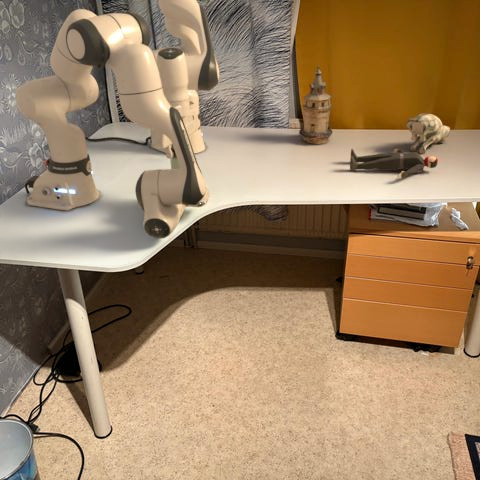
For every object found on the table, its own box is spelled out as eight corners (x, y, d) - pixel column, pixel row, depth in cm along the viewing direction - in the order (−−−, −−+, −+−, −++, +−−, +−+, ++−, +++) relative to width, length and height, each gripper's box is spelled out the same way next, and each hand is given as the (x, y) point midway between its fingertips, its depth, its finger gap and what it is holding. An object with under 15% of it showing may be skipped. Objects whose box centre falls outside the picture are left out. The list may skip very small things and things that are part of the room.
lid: (177, 158, 159) (176, 150, 158) (164, 154, 162) (163, 146, 161) (191, 153, 163) (191, 145, 161) (178, 148, 166) (178, 141, 165)
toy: (351, 141, 203) (434, 141, 197) (350, 156, 206) (432, 157, 200) (349, 166, 181) (443, 167, 175) (349, 183, 184) (441, 185, 178)
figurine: (436, 165, 204) (461, 137, 213) (424, 121, 195) (451, 94, 204) (414, 164, 211) (439, 137, 220) (401, 122, 202) (428, 96, 211)
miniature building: (320, 132, 228) (325, 59, 214) (338, 142, 217) (344, 66, 203) (293, 137, 224) (296, 63, 209) (310, 147, 213) (314, 69, 198)
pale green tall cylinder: (191, 203, 169) (187, 149, 161) (177, 206, 168) (172, 152, 159) (185, 198, 173) (182, 144, 164) (171, 201, 171) (167, 147, 163)
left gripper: (205, 195, 154) (213, 176, 166) (136, 192, 156) (148, 174, 168) (206, 214, 157) (213, 195, 169) (138, 211, 159) (150, 192, 171)
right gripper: (185, 98, 165) (187, 141, 172) (144, 115, 149) (149, 162, 156) (202, 100, 162) (204, 144, 169) (163, 118, 146) (167, 166, 153)
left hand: (180, 184), depth 168 cm, fingers closed on pale green tall cylinder, 5 cm apart
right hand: (178, 153), depth 162 cm, fingers open, 7 cm apart
